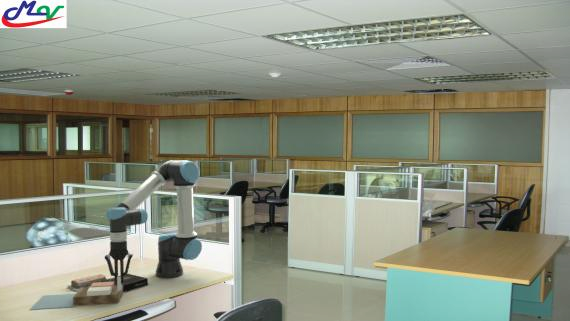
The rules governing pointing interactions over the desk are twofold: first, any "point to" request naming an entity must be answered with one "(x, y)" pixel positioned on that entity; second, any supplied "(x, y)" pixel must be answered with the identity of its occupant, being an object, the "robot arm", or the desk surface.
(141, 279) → the portable cd player
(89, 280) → the packaged product
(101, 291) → the ivory card
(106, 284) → the terracotta card
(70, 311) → the desk surface
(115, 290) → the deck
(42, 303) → the mat
